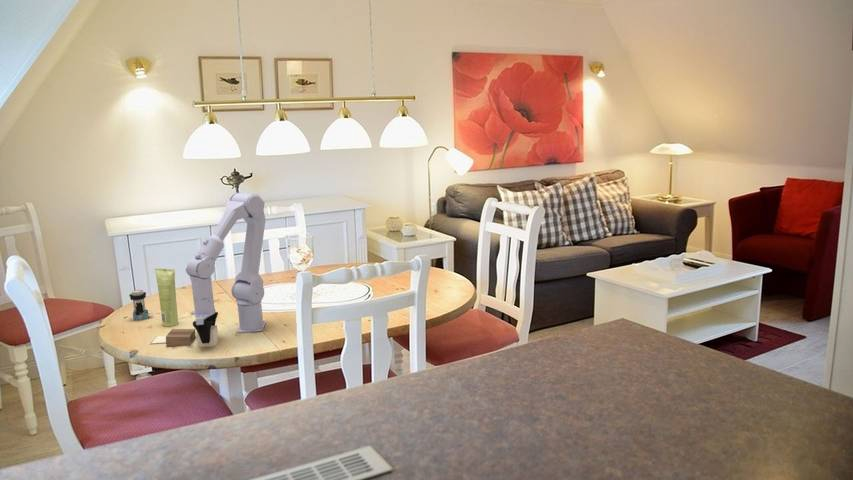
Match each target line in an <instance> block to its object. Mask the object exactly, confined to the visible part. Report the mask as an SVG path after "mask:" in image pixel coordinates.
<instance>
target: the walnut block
mask: <svg viewBox="0 0 853 480" xmlns="http://www.w3.org/2000/svg"><path fill="white" fill-rule="evenodd" d="M165 336H166V344H165V347H184V346H185V347H186V346H191V345H192V343H193V342H194V340H195V339H196V329H195V328H171V330H170V331H169V332H168V333H167V334H166V335H165Z"/></svg>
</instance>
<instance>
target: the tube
mask: <svg viewBox="0 0 853 480" xmlns="http://www.w3.org/2000/svg"><path fill="white" fill-rule="evenodd" d="M154 272H155V277H156V284H157V291H158V297H159V305H160V306H159V307H160V312H161V313H160V314H161V321H162V326H163V327H166V328H167V327H168V328H172V327H175V326H178V325H179V315H178V305H177V293H176V292H177V291H176V290H177V289H176V277H175V276H176V274H175V273H176V272H175V269H173V268H158V267H155V268H154Z"/></svg>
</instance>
